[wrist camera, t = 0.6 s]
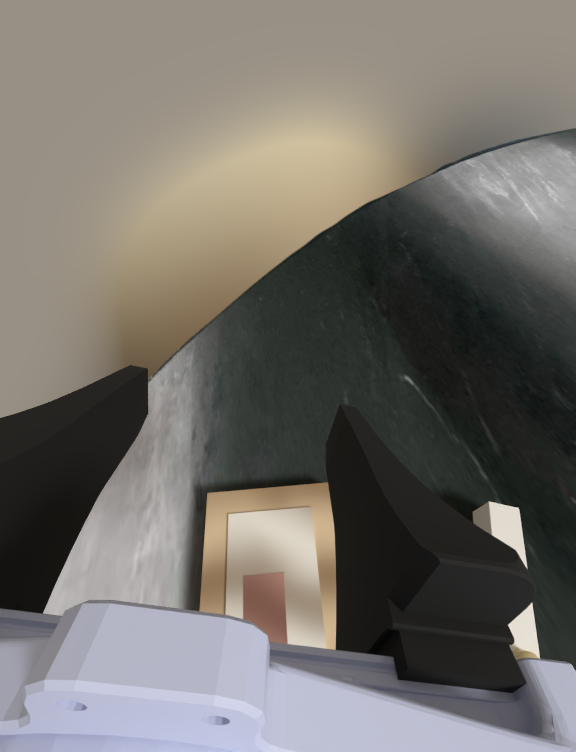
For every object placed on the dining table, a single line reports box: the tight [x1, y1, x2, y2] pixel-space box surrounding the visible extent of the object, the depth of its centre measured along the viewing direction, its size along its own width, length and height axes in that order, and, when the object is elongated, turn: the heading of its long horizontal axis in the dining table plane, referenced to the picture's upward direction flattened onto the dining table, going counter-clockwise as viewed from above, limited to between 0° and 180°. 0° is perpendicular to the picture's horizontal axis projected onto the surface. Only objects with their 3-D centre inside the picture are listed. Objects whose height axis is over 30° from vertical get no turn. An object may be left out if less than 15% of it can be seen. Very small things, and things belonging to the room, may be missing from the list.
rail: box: [473, 502, 540, 660], centre depth 20 cm, size 18×2×4 cm, turn 166°
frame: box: [200, 483, 336, 650], centre depth 24 cm, size 14×10×3 cm
